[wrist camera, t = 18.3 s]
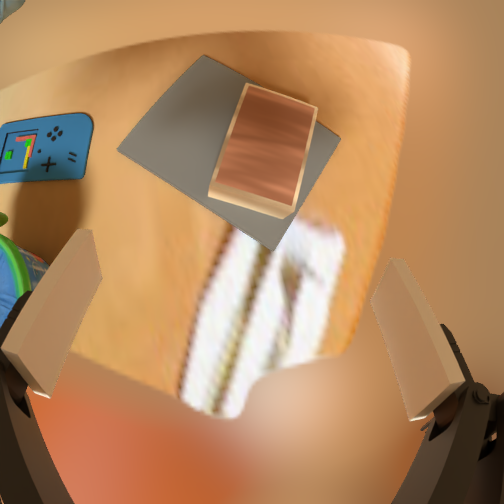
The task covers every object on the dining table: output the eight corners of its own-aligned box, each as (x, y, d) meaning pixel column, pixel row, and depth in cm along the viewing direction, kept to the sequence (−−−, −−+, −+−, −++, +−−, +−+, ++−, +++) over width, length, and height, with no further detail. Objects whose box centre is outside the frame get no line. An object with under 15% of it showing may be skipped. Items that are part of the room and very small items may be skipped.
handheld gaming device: (81, 176, 28) (-16, 183, 26) (85, 180, 29) (-11, 185, 27) (95, 110, 29) (0, 123, 26) (97, 114, 30) (3, 126, 27)
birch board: (294, 211, 28) (318, 107, 29) (209, 184, 26) (246, 81, 28) (282, 219, 32) (306, 124, 33) (207, 196, 30) (240, 101, 32)
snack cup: (89, 352, 28) (48, 380, 18) (17, 363, 26) (-32, 387, 16) (59, 208, 28) (12, 183, 18) (-8, 233, 26) (-61, 219, 16)
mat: (117, 151, 30) (116, 149, 29) (202, 57, 32) (203, 54, 32) (272, 251, 32) (274, 250, 31) (339, 140, 34) (341, 138, 34)
